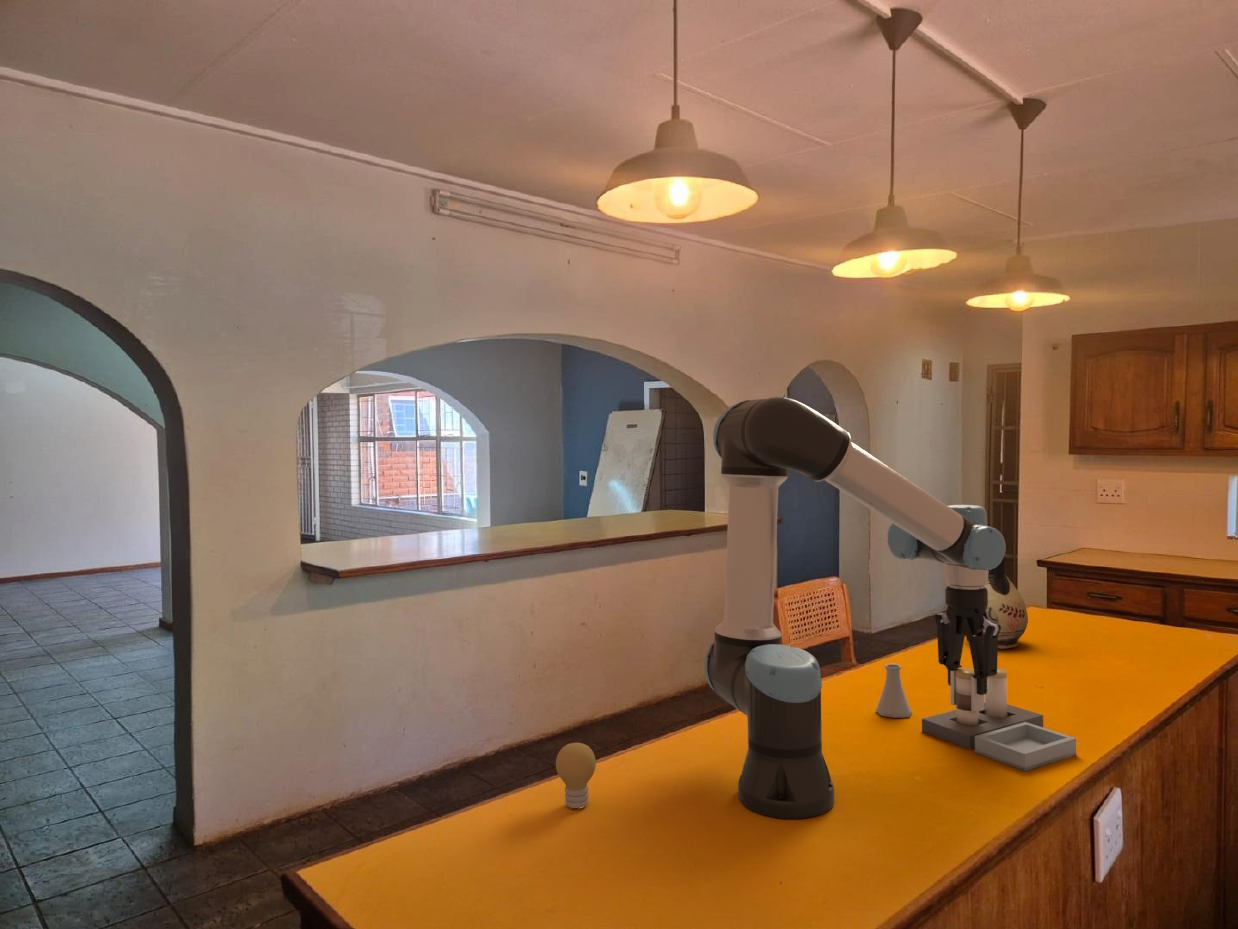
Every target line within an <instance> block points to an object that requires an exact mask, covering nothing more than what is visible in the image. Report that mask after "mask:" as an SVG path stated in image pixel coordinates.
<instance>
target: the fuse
mask: <svg viewBox="0 0 1238 929" xmlns="http://www.w3.org/2000/svg"><path fill="white" fill-rule="evenodd" d="M984 703H985V715H988V716H991V717H994V718H997V719H1002V718H1005V717H1008V715H1007V704H1008V671H1007V669H1004V668H999V667H997V674H996V675H994V676H989V677H988V678H987V693H986V694H984Z"/></svg>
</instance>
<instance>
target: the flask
mask: <svg viewBox="0 0 1238 929" xmlns="http://www.w3.org/2000/svg"><path fill="white" fill-rule="evenodd" d="M884 668H885V669H886V676H885V682H884V687H883V689H882V692H881V695H880V698H879V701H878V703H877V707H876V709H875V712H876V713H877V714H879V715H880V716H882V717H887V718H895V719H898V718H910V717H911V716H912V714H913V712H912V709H911V706H910V704H909V701H908V698H907V696H906V693H905V690H904V688H903V684H902V679H901V672H900V671H901V669H902V665H900V664H897V663H886V664H885V665H884Z"/></svg>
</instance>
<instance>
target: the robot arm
mask: <svg viewBox="0 0 1238 929" xmlns="http://www.w3.org/2000/svg"><path fill="white" fill-rule="evenodd" d="M712 433H713V434H712V441H713V442H712V443H713V446H714V449H715V452H716V453H717V454H718V456H719V457H720V458H721V461H720V462H721V463H720V465H721V466H720V468H721V469H720V470H721V472H720V476H721V477H722V479H723V480H724V481H725V482H726V483H727V484H728V508H727V532H726V537H727V538H726V556H725V558H726V560H725V585H724V587H725V588H724V610H723V611H724V612H723V613H724V614H723V620H722V621H721V622H720V623H719V624H718V625H716V627H715V628H714V640H713V642H712V643H711V645H710V646H709V647H708V648H707V650H706V652H705V656H704V661H703V672H704V675H705V679H706V682H707V683H708V685H709V687H710V688H711V689H712V690H713V692H714V693H715V694H716V695H717V696H718V697H720V699H721V700H722V701H724V702H726V703H727V704H729V705H731V706H733V707H734V708H735V709H737V710H738V711H740V712H741V713H742V714H743V715H745V716H747V744H748V745H747V752H746V755H745V758H744V762H743V766H742V771H741V774H740V775H739V778H738V780H737V781H738V784H737V793H738V799H739V802H740V803H741V804H742V805H743V806H745V807H746V808H748V810H751V811H753V812H755V813H758V814H760V815H764V816H768V817H772V818H777V819H792V820H793V819H797V820H798V819H808V818H813V817H817V816H820V815H822V814H825V813H827V812H828V811H829V810H831V809H832V808H833V807H834V804H835V787H834V783H833V780H832V778H831V774H830V772H829V768H828V766H827V763H826V760H825V757H824V754H823V747H822V746H823V743H822V742H823V741H822V738H823V737H822V734H823V732H822V730H823V729H822V688H823V683H822V677H821V676H822V675H821V670H820V669H821V668H820V665H819V662H818V660H817V659H816V657H815V656H814V655H812V654H811V653H810V652H808V651H806V650H804V649H802V648H799V647H797V646H794V647H792V646H791V647H790V645H785V644H782V632H781V631H780V630H779V629H778V627H777V626H776V625H775V624H774V602H775V580H776V579H775V577H776V559H777V558H776V552H777V532H778V527H777V526H778V506H779V505H778V504H779V488H780V487H781V485H782V484H783V483H785V481H787V479H788V477H789V470H790V471H791V470H792V471H795V472H797V473H800V474H802V475H804V476H806V477H807V478H809V479H811V480H812V481H814V482H816V483H817V482H823V481H825V482H827V483H828V484H829V485H831V486H833V487H835V488H837V490H839V491H841V492H843V493H844V494H846V495H848V497H850V498H851V499H854V500H855V501H857V502H859V503H860V504H861V505H863V506H864V507H866V508H867V509H869V510H871V511H873V513H876V514H877V515H879V516H881V517H882V518H884V519H885V520H887V521H889V522H890V525H889V528H888V530H887V536H886V537H887V545H888V549H889V550H890V553H891V554H892V555H893V556H894V557H895V558H896V559H899V560H910V561H914V560H916V559H917V560H919V559H921V560H927V561H932V562H937V563H942V564H944V582H945V584H946V587H945V588H944V590H945V591H944V592H945V593H944V598H945V599H944V600H945V602H944V603H945V605H946V606H947V607H946V610H945V612H941V613H936V614H934V621H935V623H936V629H937V632H936V633H937V653H938V654H937V655H938V656H937V658H938V663H939V664H940V665H943V666H944V667H945V668H946V670H947V685H948V686H950V705H952V706H956V670H957V669H962V667H963V665H961V660H962V655H963V654H962V653H963V648H964V644H965V643H964V642H965V637H966V641H967V642H968V643H969V649H970V650H969V651H970V654H971V661H972V666H973V668H972V669H973V670H974V673H975V675H972V677H971V711H973V712H977V711H981V710H984V703H985V694H986V693H987V678H988V677H989V676H994V675H996V674H997V668H998V656H999V655H998V653H999V651H998V649H999V648H998V635H999V633H1000V630H1001V626H1000V625H999V624H993V623H992V622H990V621H989V620H988V616H987V614H986V608H987V606H988V589H987V588H986V587H984V586H986V585H987V584H988V580H987V570H991V569H993V568H995V567H997V566H998V565H999V564H1000V563H1001V561H1002V559H1003V557H1004V558H1005V555H1006V550H1007V549H1006V548H1007V547H1006V546H1007V545H1006V541H1005V538H1004V536H1003V534H1002V533H1001V531H999V530H998V529H997V528H995V527H992V526H988V516H987V510H986V508H984V507H983V506H981V505H975V504H974V505H973V504H953V505H952V504H951V505H946V504H945V503H944V502H942V501H941V500H939V499H937V498H936V497H934V496H933V495H932V494H930V493H929V492H927V491H925V490H924V489H923V488H922V487H920V486H919V485H916V484H915V483H914V482H912V481H910V480H909V479H908V478H906V477H904V476H903V475H901V474H900V473H898V472H897V471H895V470H894V469H892V468H891V467H889V466H888V465H887V464H885V463H883V462H882V461H880V460H879V459H877V458H876V457H874V456H873V455H871V454H870V453H869V452H867V451H866V450H864V449H862V448H861V447H860V446H858V445H857V444H855V443H853V442H852V438H851V435H850V432H849V431H848V430H845V429H844V428H842V426H840V425H838V424H837V423H835V422H834V421H832V420H830V419H829V418H828V417H826V416H825V415H823V414H821V413H819V411H817V410H815V409H813V408H811V407H810V406H808V405H806V404H804V403H802V402H800V401H798V400H796V399H793V398H790V397H789V398H788V397H785V396H774V397H768V398H760V399H759V398H757V399H746V400H743V401H740V402H736V403H735V404H733V405H731V406H729V407H727V408H726V409H725V410H724V411H723V412H722V413H720V415H719V417H718V418H717V420H716V423H715V425H714V427H713V432H712ZM983 628H985V629H984V630H983ZM983 631H984V632H985V634H983ZM975 635H976V636H975ZM983 639H984V644H983Z"/></svg>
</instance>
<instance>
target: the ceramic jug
mask: <svg viewBox="0 0 1238 929" xmlns="http://www.w3.org/2000/svg"><path fill="white" fill-rule="evenodd" d="M987 580H988V584H987V585H986V586H984V587H986V588H987V589H988V606H987V608H986V614H987V616H988V620H989V621H990V622H992V623H993V624H999V625H1000V626H1001V630H1000V633H999V635H998V649H1000V650H1004V649H1009V648H1010V649H1011V648H1015V647H1018V641H1019V640H1020V638H1021V637H1022V636H1023V635H1024V633H1025V632H1026V630H1027V627H1028V621H1029V616H1028V612H1027V606H1026V603H1025V601H1024V599H1023V597H1022V595H1021V593H1020V592H1019V591H1018V589H1017V588H1016V586H1015V584H1013V582H1012V581H1011V579H1010V578H1009V577H1008V576H1007V574H1005V556H1004V557H1003V559H1002V561H1001V563H1000V564H999V565H998V566H997V567H995V568H993V569H991V570H987ZM984 629H985V628H983V630H984ZM983 634H985V632H984V631H983ZM974 636H976V635H974ZM983 644H984V639H983Z"/></svg>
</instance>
